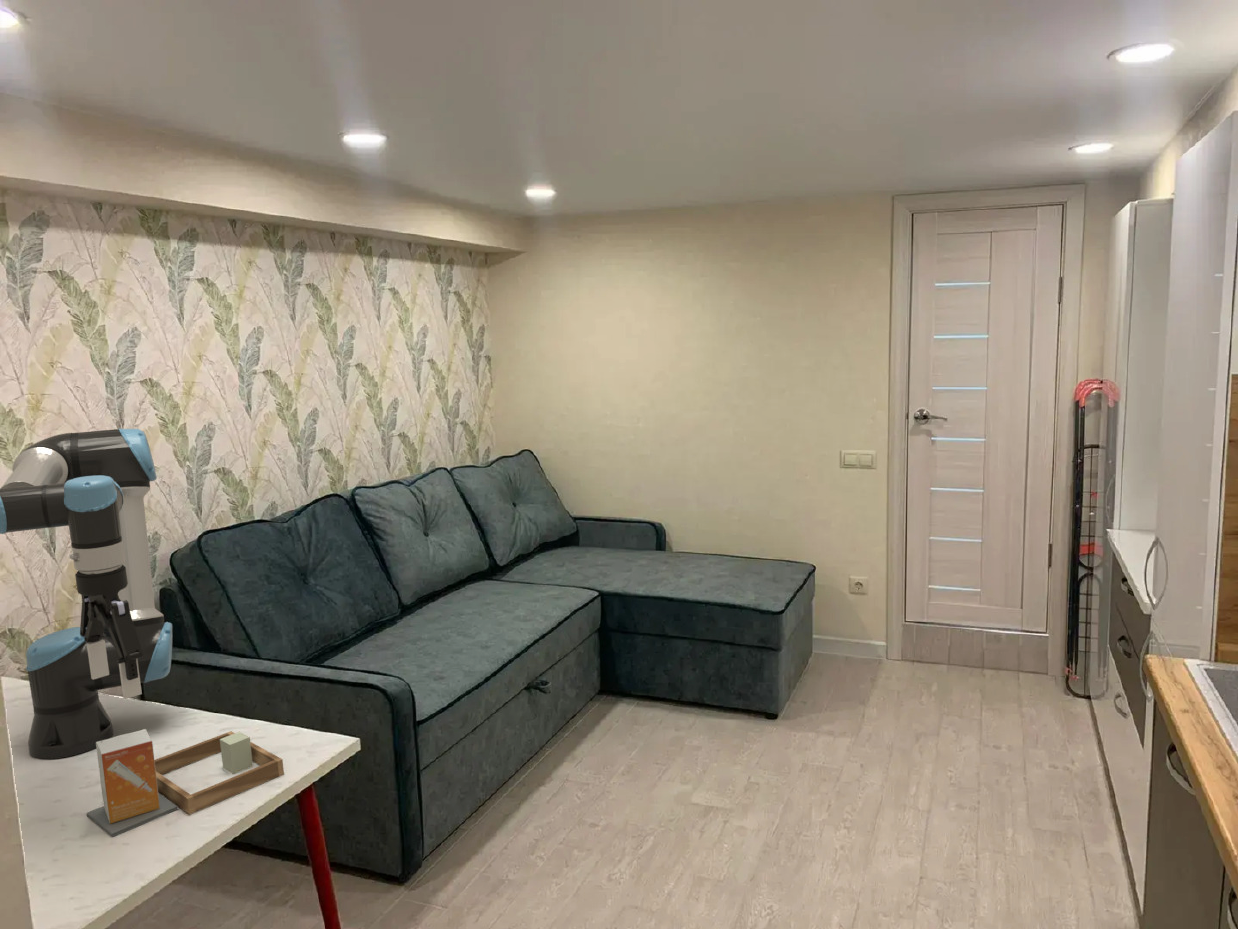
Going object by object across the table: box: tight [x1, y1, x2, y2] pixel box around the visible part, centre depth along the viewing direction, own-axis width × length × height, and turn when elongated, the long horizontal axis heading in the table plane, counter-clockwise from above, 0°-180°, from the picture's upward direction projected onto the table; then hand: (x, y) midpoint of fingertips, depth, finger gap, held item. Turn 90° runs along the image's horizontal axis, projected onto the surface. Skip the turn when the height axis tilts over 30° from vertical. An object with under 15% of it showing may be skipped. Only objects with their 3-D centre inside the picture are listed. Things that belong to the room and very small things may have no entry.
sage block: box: [220, 731, 254, 775], centre depth 179 cm, size 4×4×6 cm
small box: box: [95, 728, 160, 824], centre depth 163 cm, size 8×6×13 cm
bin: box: [154, 730, 285, 815], centre depth 175 cm, size 20×18×3 cm
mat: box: [86, 793, 179, 838], centre depth 164 cm, size 11×11×1 cm
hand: (116, 686), depth 160 cm, fingers open, 13 cm apart
